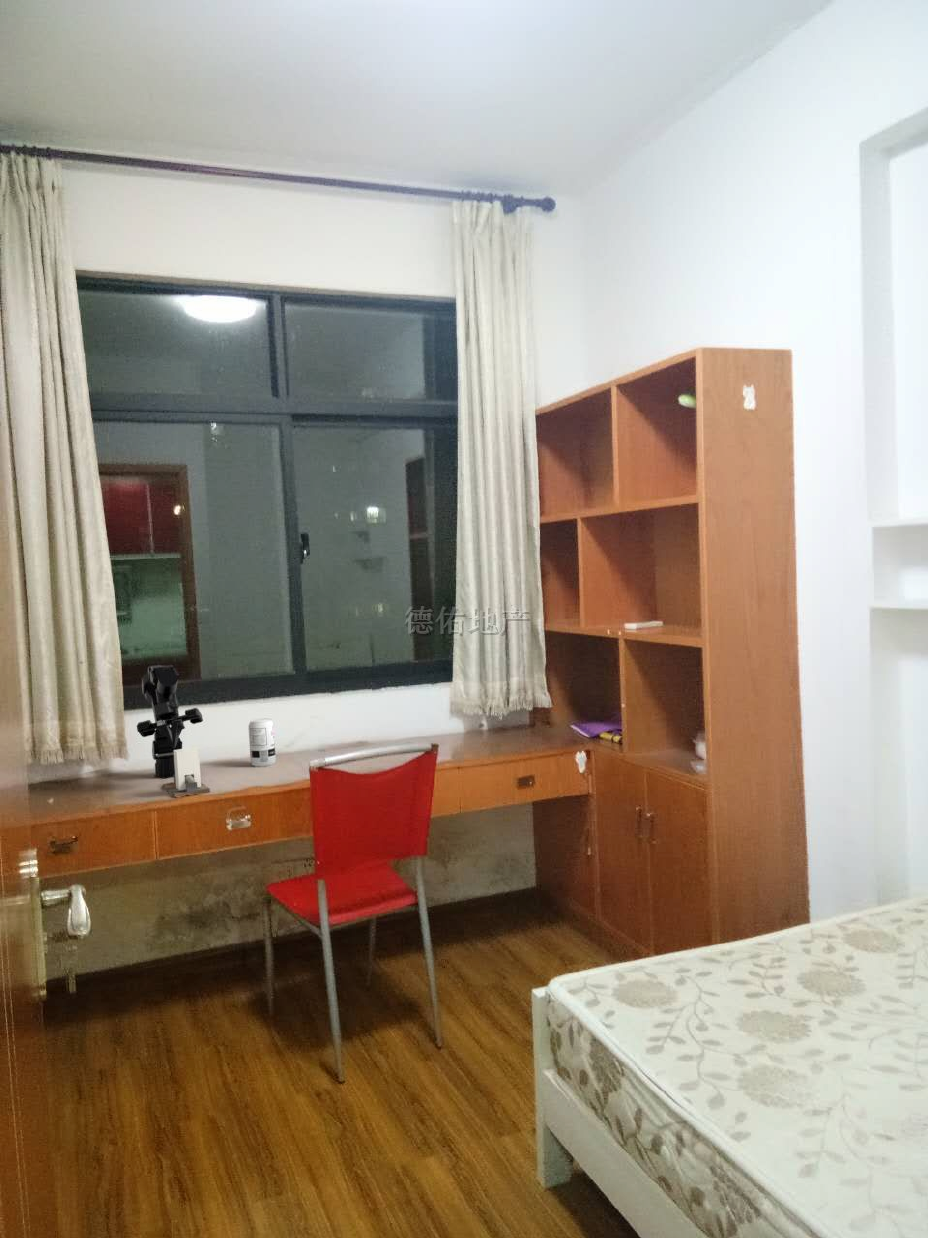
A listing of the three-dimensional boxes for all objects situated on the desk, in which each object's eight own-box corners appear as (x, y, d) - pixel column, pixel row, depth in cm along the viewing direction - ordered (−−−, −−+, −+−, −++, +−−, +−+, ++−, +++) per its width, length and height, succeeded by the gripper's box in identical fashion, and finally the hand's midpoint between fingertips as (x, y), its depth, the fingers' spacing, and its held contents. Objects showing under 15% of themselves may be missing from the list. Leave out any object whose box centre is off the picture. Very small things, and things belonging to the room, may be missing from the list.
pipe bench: (162, 787, 269) (161, 770, 268) (195, 781, 274) (194, 765, 273) (175, 798, 254) (173, 780, 254) (209, 792, 259) (208, 774, 259)
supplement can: (246, 765, 295) (243, 721, 294) (269, 760, 301) (266, 717, 300) (257, 768, 289) (254, 723, 288) (280, 763, 294) (277, 719, 294)
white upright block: (176, 788, 260) (173, 750, 260) (197, 784, 264) (195, 747, 263) (179, 790, 257) (176, 752, 256) (201, 786, 260) (198, 749, 260)
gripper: (128, 699, 265) (134, 746, 258) (190, 683, 268) (197, 729, 261) (140, 713, 275) (145, 759, 268) (199, 698, 278) (207, 742, 270)
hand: (173, 747), depth 266 cm, fingers closed
